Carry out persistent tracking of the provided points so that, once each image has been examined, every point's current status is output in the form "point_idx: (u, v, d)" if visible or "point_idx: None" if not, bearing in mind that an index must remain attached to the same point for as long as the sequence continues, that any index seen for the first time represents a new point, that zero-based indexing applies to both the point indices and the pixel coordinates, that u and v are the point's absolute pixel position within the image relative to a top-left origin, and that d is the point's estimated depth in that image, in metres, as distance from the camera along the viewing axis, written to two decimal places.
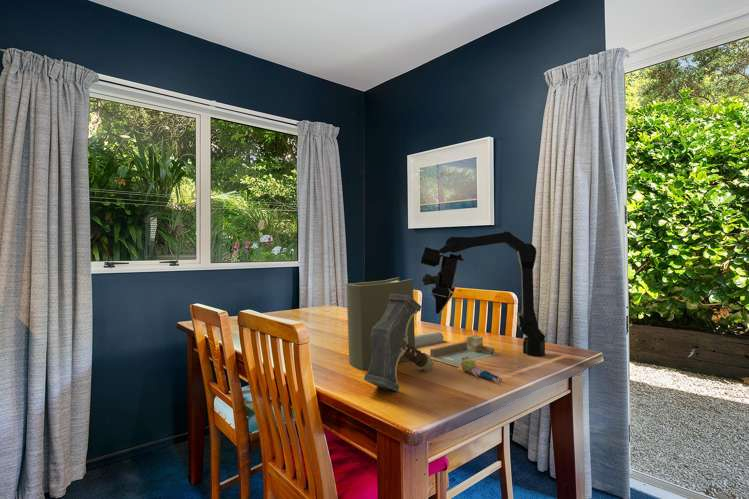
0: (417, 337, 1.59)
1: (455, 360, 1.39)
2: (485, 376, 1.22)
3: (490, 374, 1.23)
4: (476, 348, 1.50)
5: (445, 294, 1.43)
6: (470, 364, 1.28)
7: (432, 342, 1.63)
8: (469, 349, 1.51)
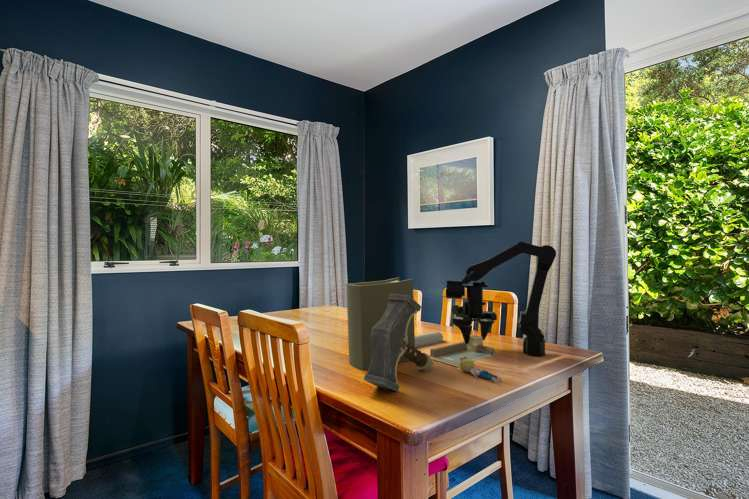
0: (418, 337, 1.59)
1: (455, 360, 1.39)
2: (484, 376, 1.22)
3: (489, 374, 1.23)
4: (476, 348, 1.50)
5: (461, 323, 1.45)
6: (469, 364, 1.28)
7: (432, 342, 1.63)
8: (469, 349, 1.51)
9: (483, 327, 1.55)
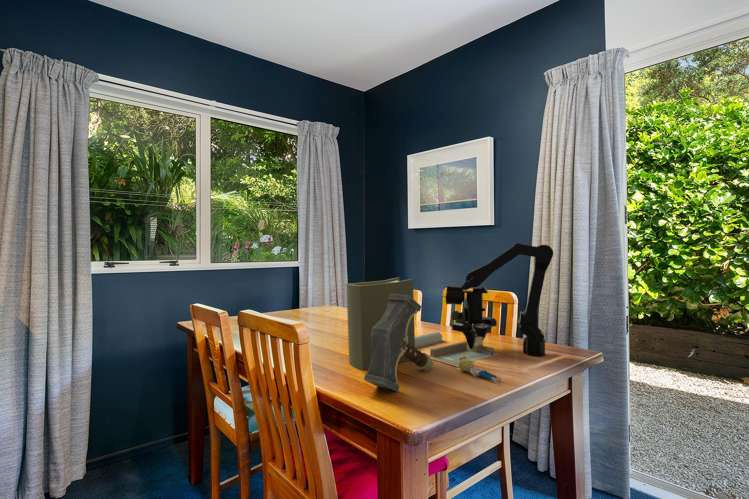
0: (419, 337, 1.58)
1: (455, 360, 1.39)
2: (483, 376, 1.22)
3: (488, 374, 1.23)
4: (476, 348, 1.50)
5: (461, 330, 1.45)
6: (468, 364, 1.28)
7: (433, 342, 1.63)
8: (469, 349, 1.51)
9: (479, 334, 1.54)
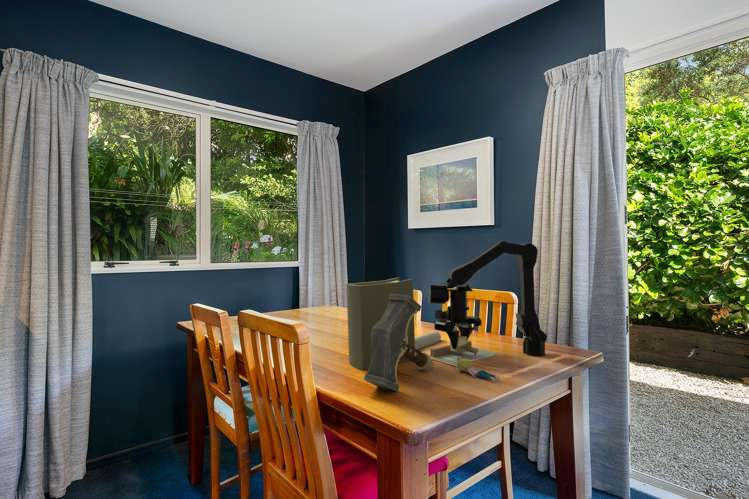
0: (422, 338, 1.58)
1: (455, 360, 1.39)
2: (482, 375, 1.22)
3: (487, 373, 1.23)
4: (459, 348, 1.44)
5: (443, 329, 1.40)
6: (466, 364, 1.28)
7: (433, 342, 1.63)
8: (452, 349, 1.46)
9: (463, 334, 1.48)
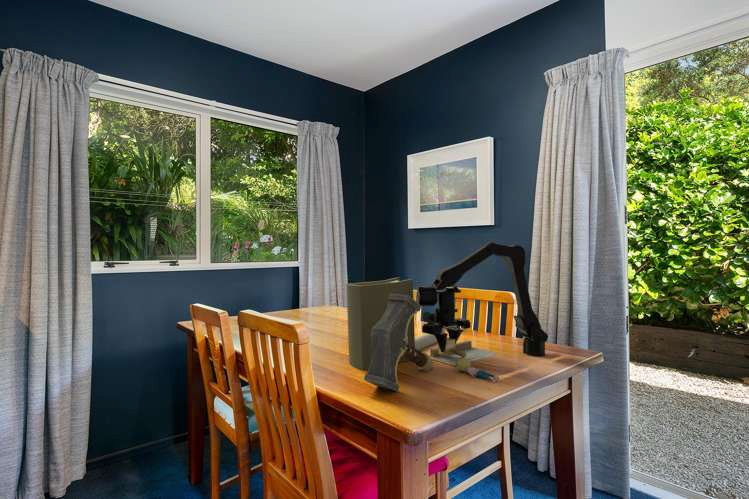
0: (423, 338, 1.58)
1: (455, 360, 1.39)
2: (481, 375, 1.23)
3: (486, 373, 1.23)
4: (448, 351, 1.41)
5: (431, 332, 1.36)
6: (465, 364, 1.28)
7: (434, 342, 1.63)
8: (440, 352, 1.43)
9: (451, 337, 1.45)
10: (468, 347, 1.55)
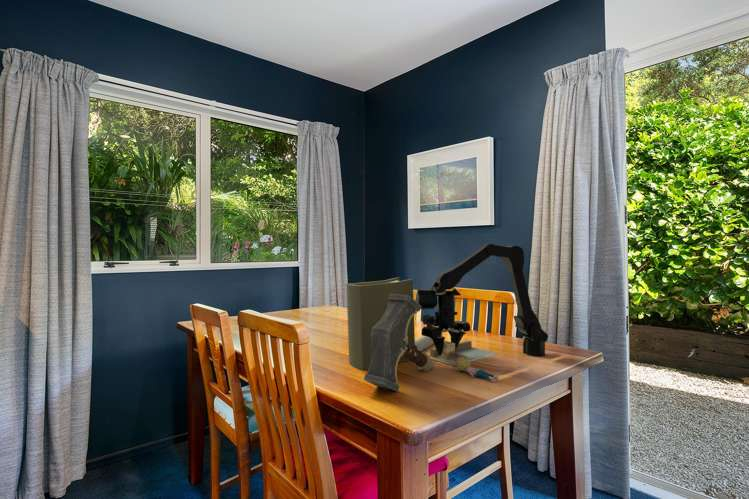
0: (425, 338, 1.57)
1: (455, 360, 1.39)
2: (481, 375, 1.23)
3: (486, 373, 1.24)
4: (447, 355, 1.41)
5: (430, 335, 1.36)
6: (465, 363, 1.28)
7: None
8: (440, 356, 1.42)
9: (453, 339, 1.45)
10: (468, 347, 1.55)
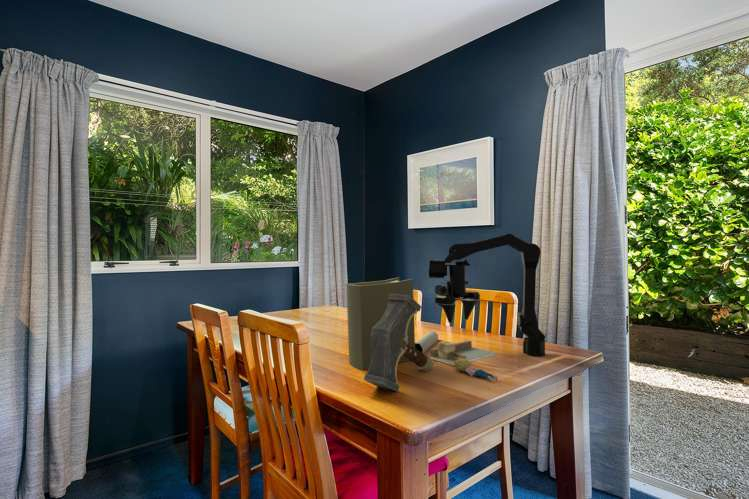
0: (427, 338, 1.57)
1: (455, 360, 1.39)
2: (480, 375, 1.23)
3: (485, 373, 1.24)
4: (447, 355, 1.41)
5: (444, 302, 1.44)
6: (464, 363, 1.28)
7: (434, 342, 1.63)
8: (440, 356, 1.42)
9: (466, 307, 1.55)
10: (468, 347, 1.55)
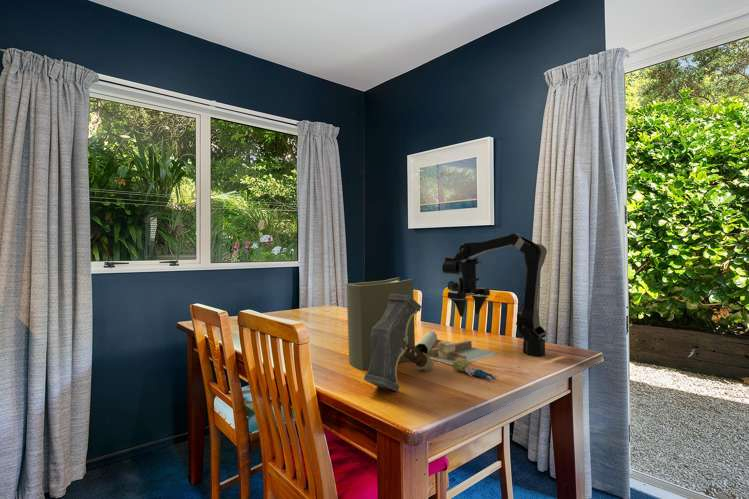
0: (429, 338, 1.57)
1: None
2: (479, 375, 1.23)
3: (484, 372, 1.24)
4: (447, 355, 1.41)
5: (456, 297, 1.54)
6: (463, 363, 1.29)
7: (434, 341, 1.63)
8: (440, 356, 1.42)
9: (477, 302, 1.64)
10: (468, 347, 1.55)
